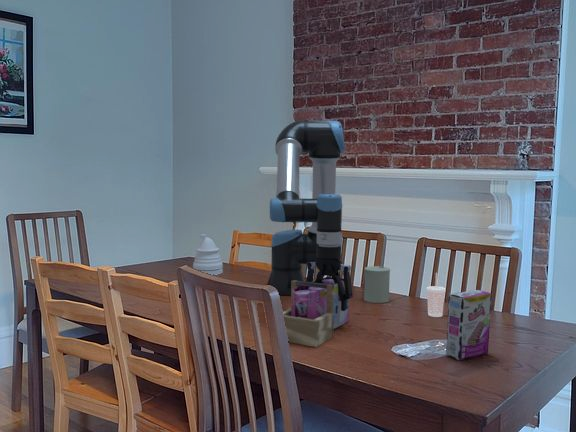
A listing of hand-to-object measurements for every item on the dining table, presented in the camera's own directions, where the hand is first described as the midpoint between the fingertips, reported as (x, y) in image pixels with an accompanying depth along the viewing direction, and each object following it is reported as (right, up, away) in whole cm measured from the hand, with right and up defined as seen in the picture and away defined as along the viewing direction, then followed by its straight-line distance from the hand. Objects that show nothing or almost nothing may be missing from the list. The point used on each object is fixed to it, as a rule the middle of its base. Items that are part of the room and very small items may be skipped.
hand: (327, 319), depth 181 cm
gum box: (-2, -2, -4) cm, 5 cm away
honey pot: (-47, +5, +75) cm, 89 cm away
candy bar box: (+35, -5, -27) cm, 44 cm away
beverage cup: (+36, -1, +12) cm, 38 cm away
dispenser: (-7, -3, -13) cm, 15 cm away
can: (+20, +1, +32) cm, 38 cm away
